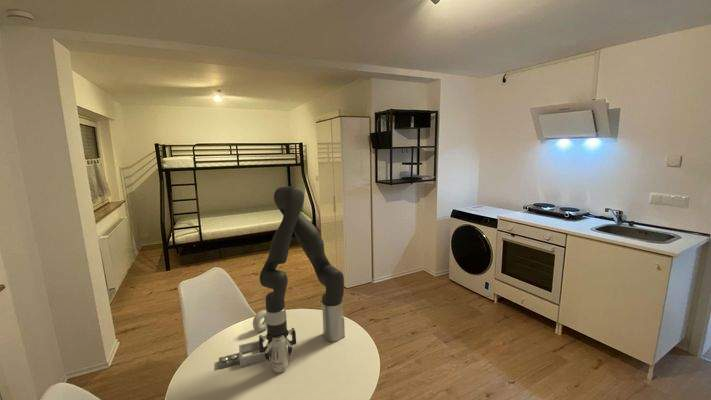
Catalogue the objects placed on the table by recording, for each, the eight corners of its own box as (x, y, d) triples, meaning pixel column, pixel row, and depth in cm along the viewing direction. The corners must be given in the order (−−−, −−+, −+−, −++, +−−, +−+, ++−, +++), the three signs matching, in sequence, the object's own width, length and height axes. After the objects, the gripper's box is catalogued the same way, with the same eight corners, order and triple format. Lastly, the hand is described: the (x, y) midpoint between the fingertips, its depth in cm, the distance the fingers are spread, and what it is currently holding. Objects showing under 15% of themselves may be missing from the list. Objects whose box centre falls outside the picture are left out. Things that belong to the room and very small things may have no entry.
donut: (269, 324, 153) (267, 305, 151) (273, 326, 151) (272, 307, 149) (252, 334, 145) (250, 314, 143) (256, 336, 143) (254, 316, 141)
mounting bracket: (281, 342, 138) (280, 335, 138) (284, 355, 130) (284, 348, 129) (219, 357, 129) (218, 350, 129) (218, 372, 120) (217, 364, 120)
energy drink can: (269, 371, 120) (266, 337, 118) (278, 361, 126) (275, 328, 123) (282, 375, 118) (279, 340, 116) (290, 365, 124) (288, 331, 121)
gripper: (293, 310, 124) (295, 346, 127) (256, 318, 119) (259, 355, 122) (296, 320, 117) (298, 358, 120) (257, 328, 112) (260, 368, 115)
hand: (278, 356), depth 121 cm, fingers open, 7 cm apart
